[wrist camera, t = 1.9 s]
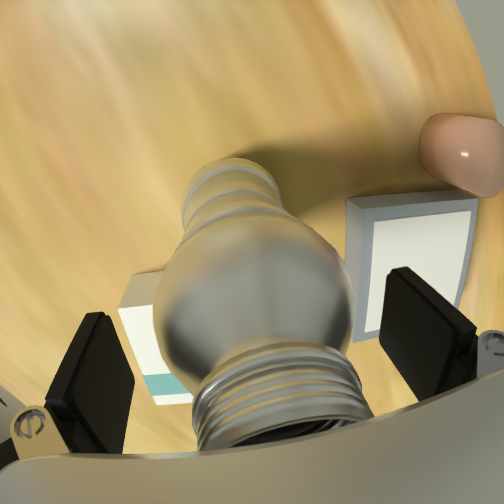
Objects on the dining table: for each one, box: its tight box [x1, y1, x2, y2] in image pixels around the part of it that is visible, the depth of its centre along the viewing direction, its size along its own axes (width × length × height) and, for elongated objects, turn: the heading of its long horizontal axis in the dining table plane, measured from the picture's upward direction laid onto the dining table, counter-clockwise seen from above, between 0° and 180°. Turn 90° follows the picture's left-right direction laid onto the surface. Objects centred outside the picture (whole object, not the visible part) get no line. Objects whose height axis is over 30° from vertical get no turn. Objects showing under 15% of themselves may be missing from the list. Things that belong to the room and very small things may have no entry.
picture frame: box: [345, 189, 479, 343], centre depth 26 cm, size 12×12×3 cm
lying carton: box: [118, 270, 194, 405], centre depth 25 cm, size 10×5×5 cm, turn 5°
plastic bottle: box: [153, 157, 374, 451], centre depth 14 cm, size 6×7×20 cm
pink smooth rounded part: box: [419, 113, 504, 198], centre depth 21 cm, size 6×6×6 cm
